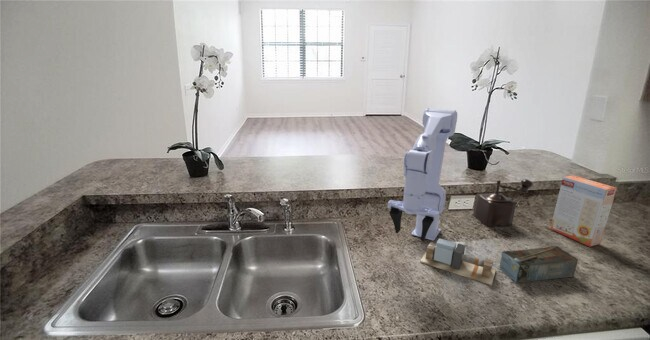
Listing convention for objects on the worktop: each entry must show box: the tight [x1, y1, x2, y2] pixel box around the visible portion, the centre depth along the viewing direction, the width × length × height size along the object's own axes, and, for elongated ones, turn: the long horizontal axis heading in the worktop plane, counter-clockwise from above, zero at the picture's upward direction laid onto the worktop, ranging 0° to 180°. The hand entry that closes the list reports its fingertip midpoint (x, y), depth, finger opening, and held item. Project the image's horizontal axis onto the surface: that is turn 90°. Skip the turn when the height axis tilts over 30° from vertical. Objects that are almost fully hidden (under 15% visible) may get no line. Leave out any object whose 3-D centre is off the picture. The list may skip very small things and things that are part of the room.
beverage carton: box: [499, 246, 579, 284], centre depth 97 cm, size 8×19×7 cm, turn 99°
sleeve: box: [434, 238, 457, 265], centre depth 101 cm, size 5×5×6 cm
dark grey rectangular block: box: [452, 243, 466, 270], centre depth 99 cm, size 2×5×5 cm, turn 147°
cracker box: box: [550, 175, 617, 247], centre depth 116 cm, size 14×6×21 cm, turn 22°
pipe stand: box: [419, 241, 496, 286], centre depth 100 cm, size 20×8×4 cm, turn 58°
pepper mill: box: [472, 178, 534, 228], centre depth 128 cm, size 16×11×18 cm
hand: (410, 235), depth 98 cm, fingers open, 7 cm apart
